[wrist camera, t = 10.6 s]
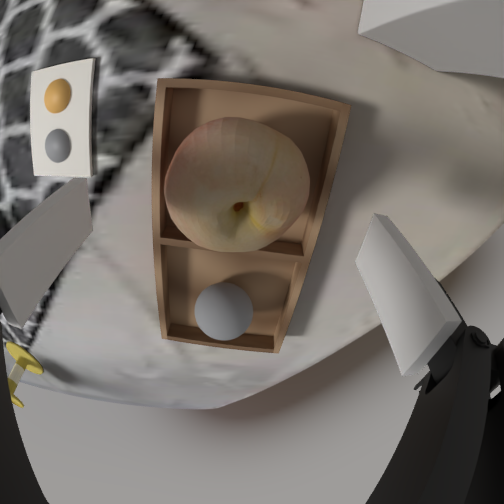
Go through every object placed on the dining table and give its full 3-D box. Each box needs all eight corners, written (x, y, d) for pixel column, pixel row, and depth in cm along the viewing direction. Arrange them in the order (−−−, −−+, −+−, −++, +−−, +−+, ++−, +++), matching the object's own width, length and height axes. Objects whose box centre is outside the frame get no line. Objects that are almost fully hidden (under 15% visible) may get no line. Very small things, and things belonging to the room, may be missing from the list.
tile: (34, 71, 14) (30, 71, 14) (95, 58, 15) (92, 58, 14) (36, 174, 20) (33, 176, 19) (92, 175, 20) (89, 177, 20)
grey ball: (200, 266, 24) (189, 307, 20) (257, 274, 25) (257, 315, 20) (198, 307, 27) (190, 347, 23) (249, 314, 27) (248, 355, 23)
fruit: (252, 234, 22) (249, 305, 16) (166, 178, 20) (122, 229, 13) (319, 158, 19) (354, 201, 12) (228, 89, 16) (208, 88, 10)
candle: (5, 334, 35) (-47, 443, 13) (45, 363, 39) (0, 479, 16) (7, 352, 39) (-35, 448, 17) (42, 378, 43) (6, 477, 20)
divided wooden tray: (168, 79, 16) (157, 78, 14) (340, 102, 17) (351, 105, 15) (167, 321, 29) (161, 338, 27) (277, 336, 30) (278, 353, 28)
